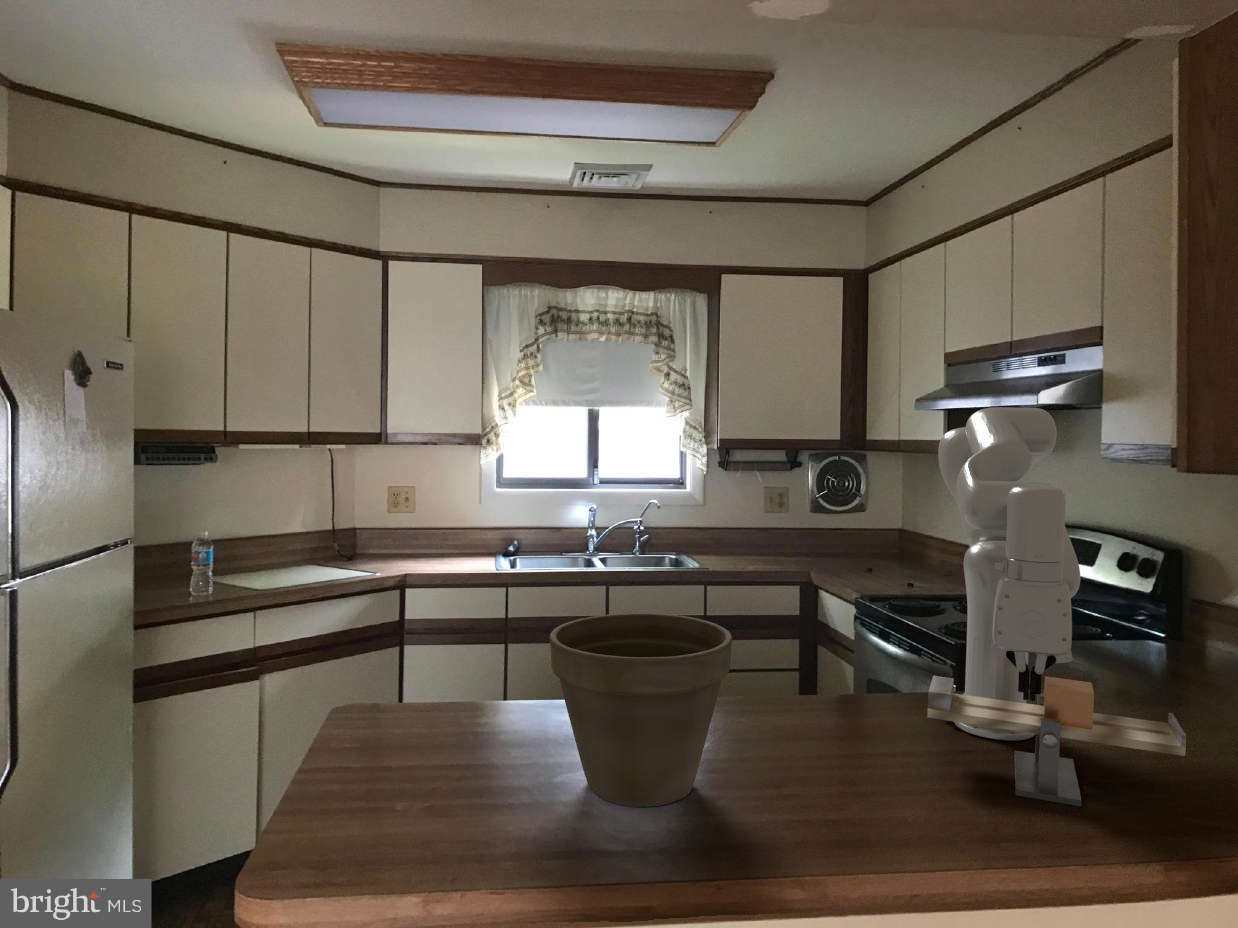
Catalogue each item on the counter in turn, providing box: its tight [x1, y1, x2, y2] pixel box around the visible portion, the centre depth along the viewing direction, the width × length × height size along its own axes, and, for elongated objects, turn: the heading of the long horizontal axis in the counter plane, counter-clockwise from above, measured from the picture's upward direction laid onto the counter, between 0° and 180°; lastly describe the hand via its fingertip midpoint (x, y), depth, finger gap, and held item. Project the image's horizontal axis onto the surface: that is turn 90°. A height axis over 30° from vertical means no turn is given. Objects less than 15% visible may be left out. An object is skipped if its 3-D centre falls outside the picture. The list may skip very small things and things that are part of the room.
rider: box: [1043, 675, 1095, 730], centre depth 124 cm, size 6×6×6 cm
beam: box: [926, 675, 1187, 757], centre depth 125 cm, size 32×10×4 cm, turn 66°
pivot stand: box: [1014, 693, 1083, 807], centre depth 125 cm, size 8×16×10 cm, turn 156°
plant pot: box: [549, 612, 733, 808], centre depth 121 cm, size 25×25×22 cm
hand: (1029, 697), depth 126 cm, fingers closed
